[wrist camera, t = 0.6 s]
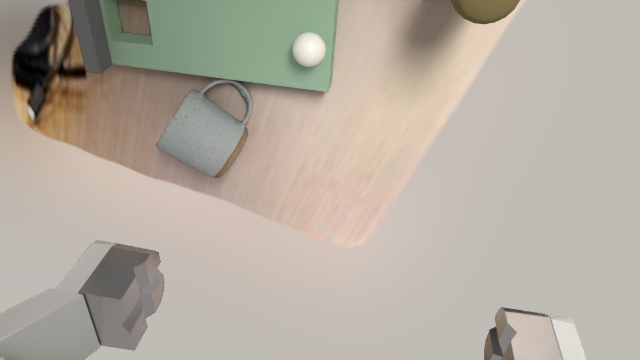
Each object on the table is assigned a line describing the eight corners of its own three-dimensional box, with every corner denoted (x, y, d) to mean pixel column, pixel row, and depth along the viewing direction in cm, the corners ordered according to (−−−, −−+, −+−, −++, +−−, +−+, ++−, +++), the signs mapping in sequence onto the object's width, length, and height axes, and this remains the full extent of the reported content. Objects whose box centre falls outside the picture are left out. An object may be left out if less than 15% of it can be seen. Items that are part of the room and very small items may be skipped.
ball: (296, 25, 47) (289, 37, 44) (329, 29, 47) (324, 41, 44) (295, 56, 49) (288, 70, 46) (326, 60, 49) (321, 74, 46)
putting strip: (83, -42, 49) (54, -30, 45) (339, -14, 47) (332, 1, 43) (104, 52, 55) (79, 71, 51) (331, 81, 53) (324, 103, 49)
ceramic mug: (229, 159, 61) (209, 196, 55) (172, 122, 59) (144, 156, 53) (272, 99, 55) (255, 133, 49) (210, 56, 53) (184, 86, 47)
